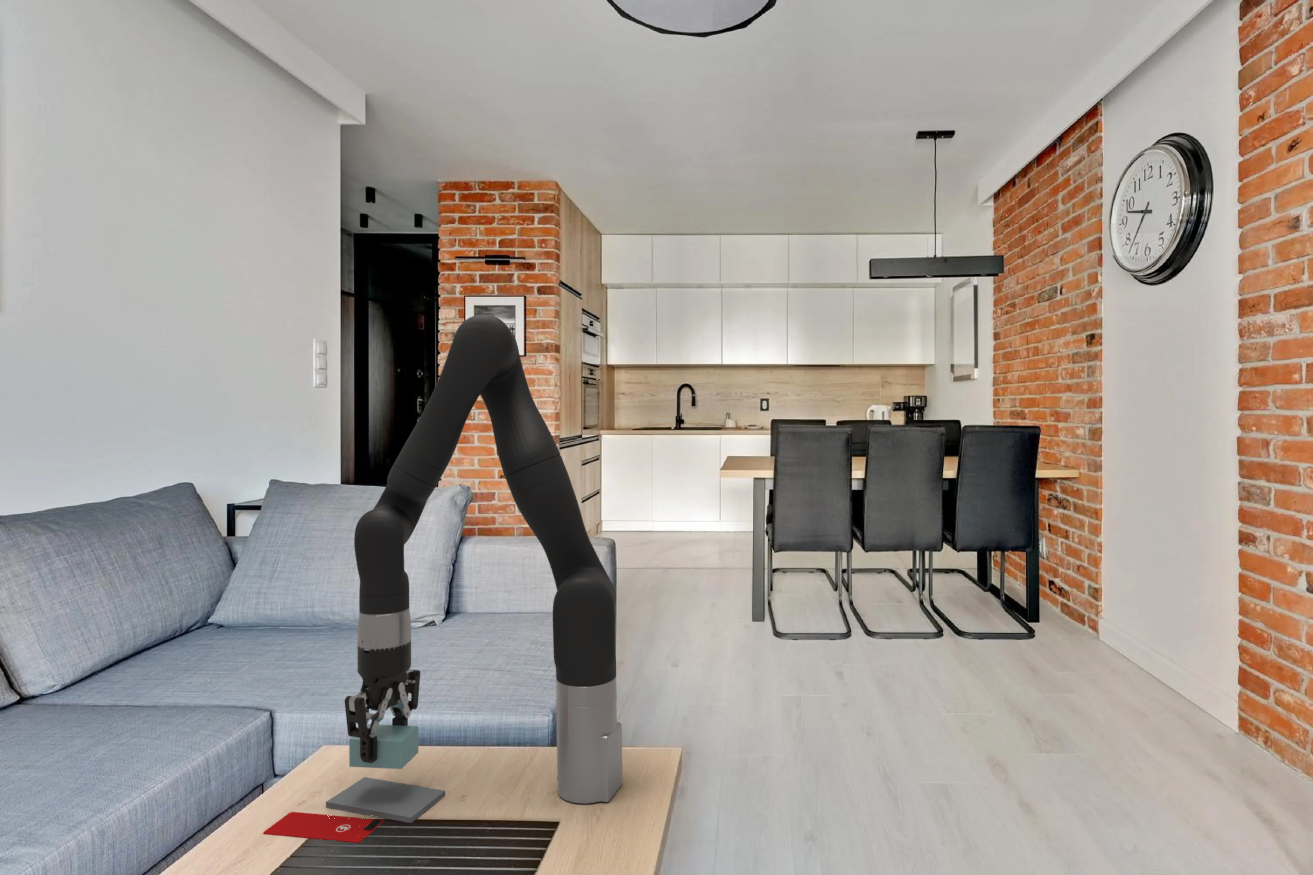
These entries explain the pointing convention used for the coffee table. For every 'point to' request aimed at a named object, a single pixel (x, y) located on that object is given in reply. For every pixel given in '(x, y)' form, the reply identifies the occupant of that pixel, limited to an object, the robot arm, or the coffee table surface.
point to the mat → (386, 799)
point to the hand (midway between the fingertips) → (384, 751)
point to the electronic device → (323, 827)
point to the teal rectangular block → (388, 747)
